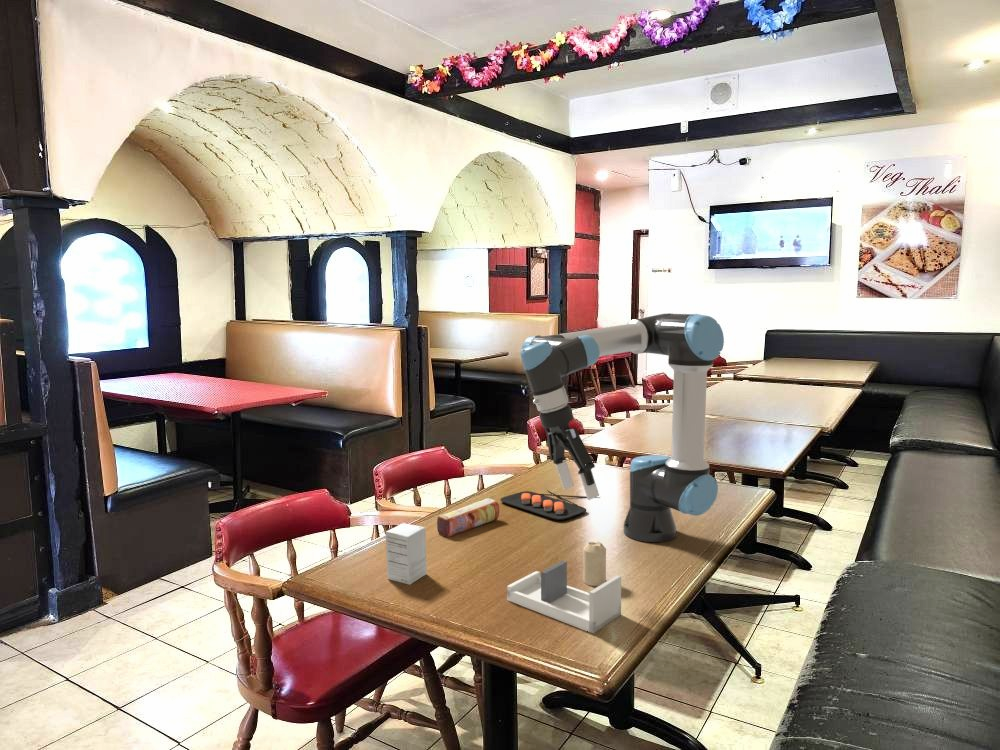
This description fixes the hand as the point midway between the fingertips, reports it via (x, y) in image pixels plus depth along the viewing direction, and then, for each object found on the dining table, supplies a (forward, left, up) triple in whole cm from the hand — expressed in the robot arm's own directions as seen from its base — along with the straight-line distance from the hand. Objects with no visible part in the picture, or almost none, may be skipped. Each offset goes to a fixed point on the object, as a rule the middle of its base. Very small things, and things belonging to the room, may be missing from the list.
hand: (580, 492), depth 161 cm
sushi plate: (-50, -44, -25) cm, 72 cm away
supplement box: (+22, -38, -25) cm, 50 cm away
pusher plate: (+10, -1, -23) cm, 25 cm away
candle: (-6, 0, -25) cm, 25 cm away
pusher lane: (+10, +2, -24) cm, 26 cm away
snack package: (-14, -51, -25) cm, 59 cm away
